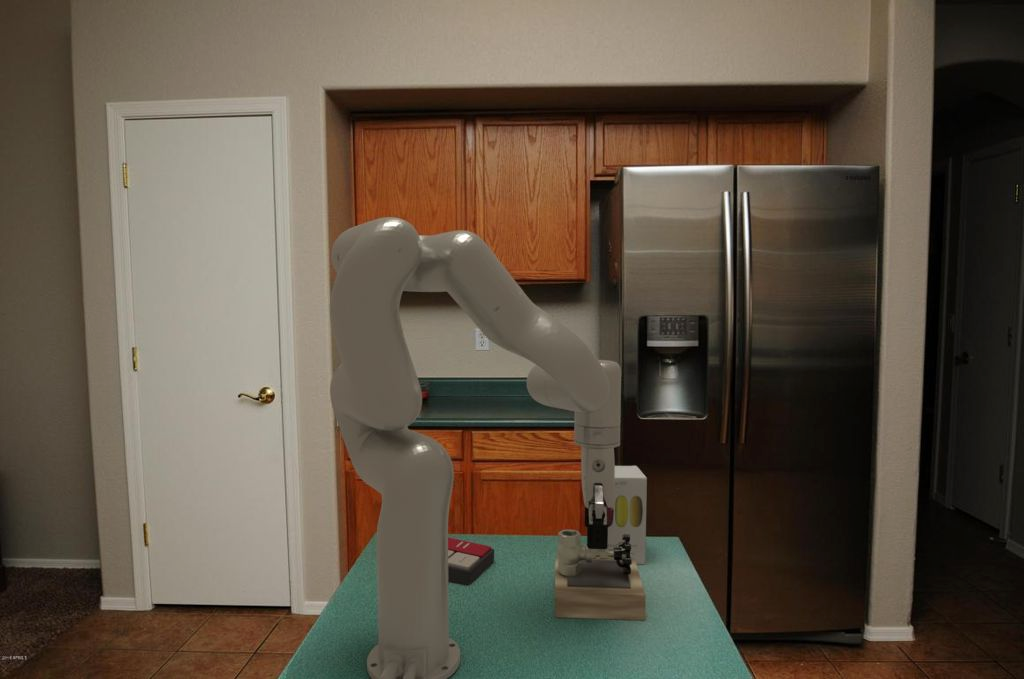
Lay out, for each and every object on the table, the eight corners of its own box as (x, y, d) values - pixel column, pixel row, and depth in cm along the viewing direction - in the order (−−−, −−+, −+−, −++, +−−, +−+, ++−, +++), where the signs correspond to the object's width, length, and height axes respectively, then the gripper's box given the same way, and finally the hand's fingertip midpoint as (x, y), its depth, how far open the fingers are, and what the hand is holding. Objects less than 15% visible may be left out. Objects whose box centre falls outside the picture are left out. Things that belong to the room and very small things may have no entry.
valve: (556, 579, 99) (631, 582, 98) (556, 540, 99) (631, 542, 98) (557, 563, 106) (627, 565, 105) (557, 525, 106) (627, 527, 105)
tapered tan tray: (645, 620, 95) (645, 593, 95) (554, 617, 96) (554, 590, 96) (634, 580, 109) (634, 556, 109) (555, 577, 110) (555, 554, 110)
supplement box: (596, 565, 115) (596, 477, 114) (589, 546, 125) (589, 464, 124) (647, 565, 115) (648, 476, 115) (636, 546, 125) (637, 464, 124)
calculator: (469, 567, 107) (396, 550, 113) (468, 591, 107) (395, 573, 113) (495, 544, 117) (427, 530, 123) (494, 566, 117) (426, 551, 123)
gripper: (625, 446, 92) (623, 558, 93) (615, 426, 109) (613, 520, 110) (575, 445, 93) (573, 556, 93) (573, 425, 110) (571, 519, 111)
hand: (595, 537), depth 102 cm, fingers open, 9 cm apart
